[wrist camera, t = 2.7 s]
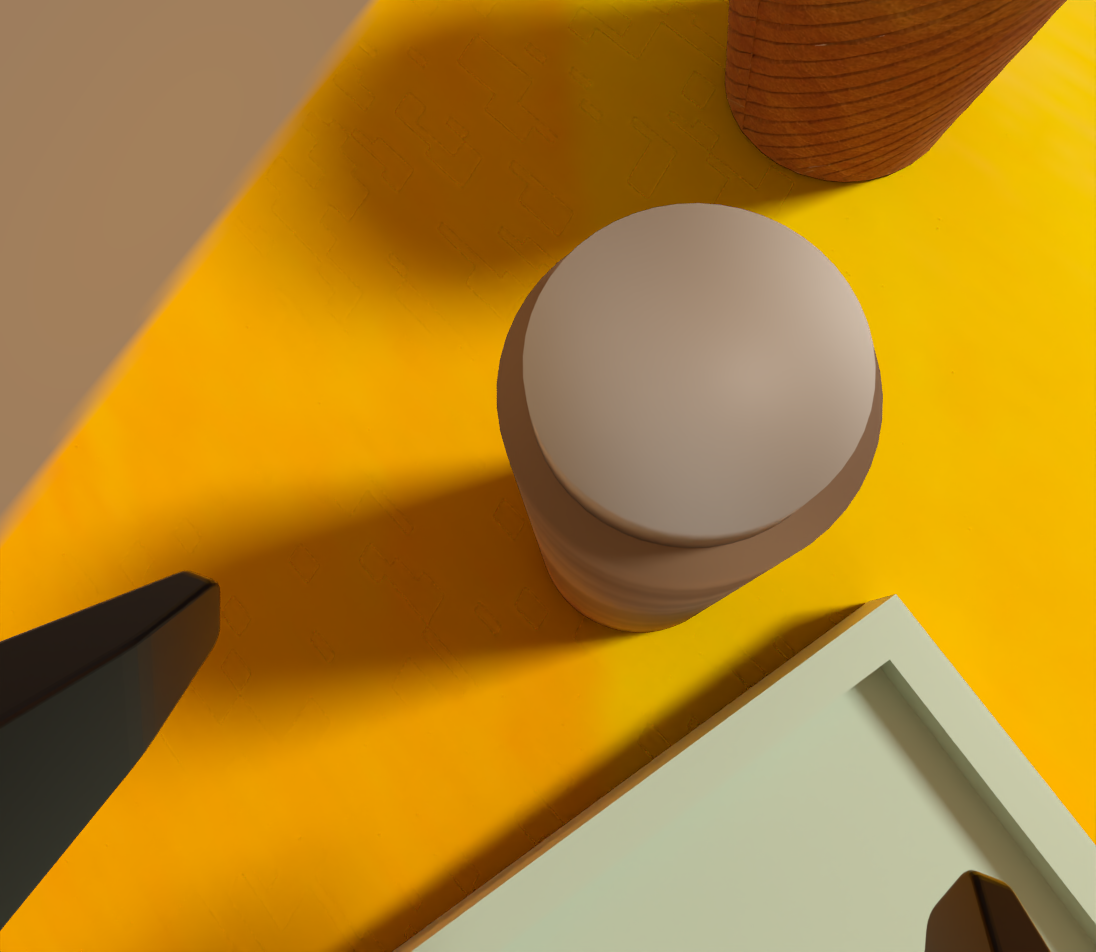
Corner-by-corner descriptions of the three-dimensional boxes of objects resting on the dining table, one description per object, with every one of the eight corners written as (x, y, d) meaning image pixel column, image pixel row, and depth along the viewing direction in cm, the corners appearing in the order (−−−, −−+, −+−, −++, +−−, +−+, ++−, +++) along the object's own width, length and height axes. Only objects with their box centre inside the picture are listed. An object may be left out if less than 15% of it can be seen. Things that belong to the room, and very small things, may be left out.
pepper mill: (615, 672, 21) (652, 660, 9) (502, 510, 22) (408, 317, 10) (775, 557, 21) (1002, 407, 10) (658, 404, 22) (736, 103, 11)
